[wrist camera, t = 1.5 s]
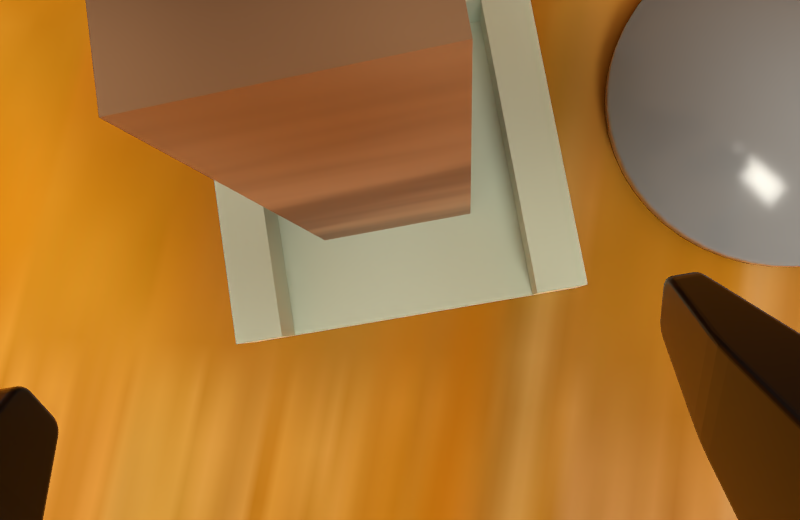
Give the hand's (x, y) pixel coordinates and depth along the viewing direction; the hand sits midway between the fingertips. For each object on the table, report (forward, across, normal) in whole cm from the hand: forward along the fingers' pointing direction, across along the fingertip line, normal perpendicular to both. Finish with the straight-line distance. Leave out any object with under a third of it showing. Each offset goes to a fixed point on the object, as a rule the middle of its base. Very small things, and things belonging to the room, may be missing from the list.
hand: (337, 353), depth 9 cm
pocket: (+13, 0, +5) cm, 14 cm away
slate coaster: (+13, -13, +5) cm, 19 cm away
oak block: (+13, 0, +4) cm, 13 cm away
